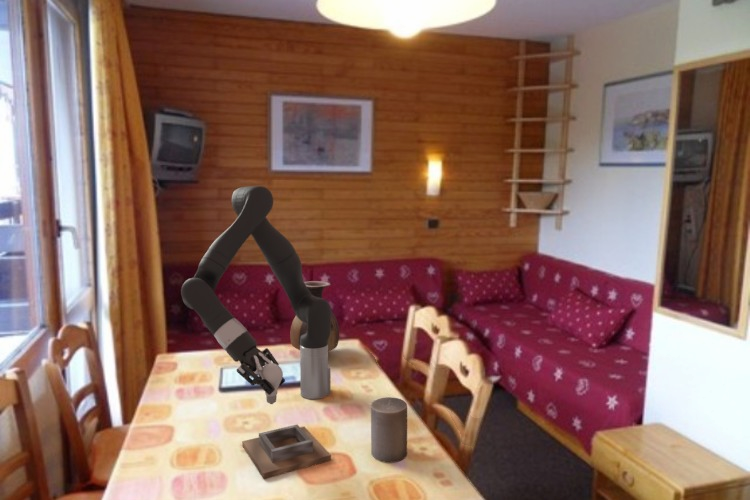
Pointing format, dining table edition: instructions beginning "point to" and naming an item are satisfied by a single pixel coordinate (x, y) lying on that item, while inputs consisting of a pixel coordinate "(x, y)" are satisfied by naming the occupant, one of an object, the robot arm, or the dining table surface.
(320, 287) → the vase
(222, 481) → the dining table surface
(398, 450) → the pillar candle
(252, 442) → the bulb socket
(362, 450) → the dining table surface
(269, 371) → the lightbulb
